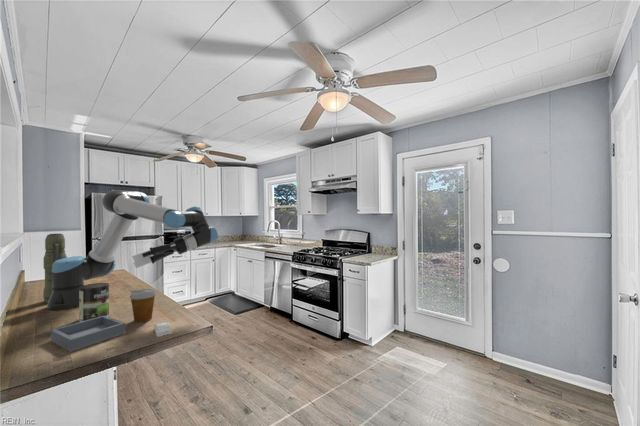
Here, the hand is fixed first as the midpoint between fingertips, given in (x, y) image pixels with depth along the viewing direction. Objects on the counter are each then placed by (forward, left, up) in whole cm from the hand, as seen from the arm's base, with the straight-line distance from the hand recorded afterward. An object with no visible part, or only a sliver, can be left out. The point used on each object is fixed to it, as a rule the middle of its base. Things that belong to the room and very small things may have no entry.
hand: (134, 262), depth 121 cm
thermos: (-64, -6, -24) cm, 69 cm away
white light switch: (+24, -2, -25) cm, 34 cm away
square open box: (+5, -18, -24) cm, 30 cm away
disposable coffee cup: (+5, +1, -24) cm, 25 cm away
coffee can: (-16, -8, -24) cm, 30 cm away
